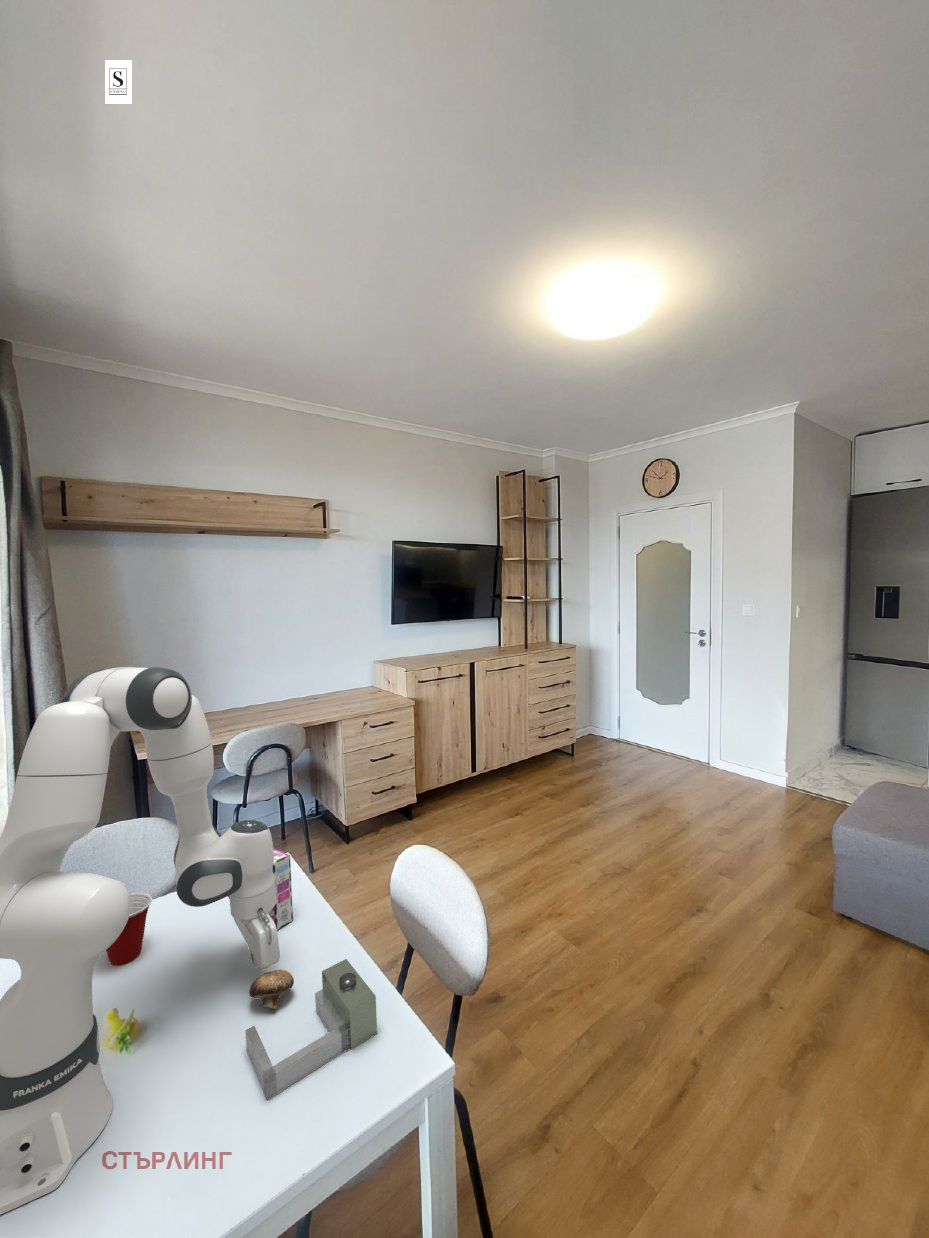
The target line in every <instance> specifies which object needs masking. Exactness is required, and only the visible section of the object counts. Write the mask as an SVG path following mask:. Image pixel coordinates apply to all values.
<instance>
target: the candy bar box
mask: <svg viewBox="0 0 929 1238" xmlns="http://www.w3.org/2000/svg"><path fill="white" fill-rule="evenodd" d="M273 852H274V864H273V874H274V876H275V886H276V904H275V906H274V907H273V908H272V909H271V910H270V913H269V915H270V917H271V918H272V920H273V921H274V923H275V925H276V928H277V931H279V930H281V929H282V928H284V927H286V926H287V925H289V924H290V923H292V922H293V921H294V913H293V891H292V869H291V868H292V867H291V865H292V863H291V855H290V854H288V853H285V852H284V851H281V850H278V849H276V848H274V847H273Z"/></svg>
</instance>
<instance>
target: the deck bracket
mask: <svg viewBox="0 0 929 1238" xmlns="http://www.w3.org/2000/svg"><path fill="white" fill-rule="evenodd" d="M321 980H322V983H321V984H322V988H321V989H320V990H318V991H317V992H315V993H314V996H315V997H314V998H315V1012H316V1013H317V1015H318V1017H319V1018H320V1020H321V1021H322V1023H323V1025H324V1026H325V1028H326V1029H327V1031H328V1033H326V1034H324V1035H323V1036H321V1037H319V1038H318V1039H316V1040H314V1041H313V1042H311V1043H309V1044H308V1045H306V1046H304V1047H303V1048H301V1049H299V1050H297V1051H296V1052H294V1053H292V1054H291V1055H290V1056H288V1057H285V1058H284V1059H283V1060H281V1061H279V1062H278V1063H276V1064H274V1065H273V1064H272V1061H271V1059H270V1057H269V1055H268V1053H267V1050H266V1048H265V1046H264V1043H263V1042H262V1039H261V1037H260V1035H259V1033H258V1030H257V1029H256V1025H252V1026H251V1027H249V1028H247V1029H245V1030H244V1031H245V1047H246V1052H247V1054H248V1058H249V1059H250V1061H251V1064H252V1067H253V1069H254V1071H255V1074H256V1077H257V1079H258V1082H259V1085H260V1086H261V1089H262V1092H263V1094H264V1095H265V1099H266V1101H269V1100H270V1099H271V1098H273V1097H275V1096H276V1095H278V1094H279V1093H281V1092H283V1091H284V1090H286V1089H288V1088H289V1087H291V1086H292V1085H294V1084H295V1083H297V1082H299V1081H300V1080H301V1079H303V1078H305V1077H306V1076H308V1075H309V1074H311V1073H313V1072H315V1071H317V1070H318V1069H320V1067H322V1066H324V1065H325V1064H327V1063H329V1062H330V1061H332V1060H334V1059H335V1058H337V1057H338V1056H340V1055H342V1054H343V1053H344V1052H346V1051H348V1050H351V1051H352V1050H354V1049H355V1048H357V1047H358V1046H360V1045H361V1044H363V1043H364V1042H366V1041H368V1040H369V1039H371V1038H372V1037H374V1036H376V1035H377V1034H378V1021H377V1019H378V1018H377V997H376V996H377V995H376V994H375V993H374V992H373V990H372V989H371V988H370V987H369V985H368V984H367V983H366V982H365V980H364V979H363V977H362V976H360V974H359V973H358V972H357V970H356V969H355V968H354V966H353V965H352V964H351V963H350V961H348V959H347V958H345V959H343V960H341V961H339V962H337V963H336V964H333V965H331V966H329V967H327V968H326V969H323V970H322V971H321Z"/></svg>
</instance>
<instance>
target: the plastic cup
mask: <svg viewBox="0 0 929 1238" xmlns="http://www.w3.org/2000/svg"><path fill="white" fill-rule="evenodd" d="M129 893H130V892H129ZM130 897H131V910H130V915H129V918H128V921H127V923H126V925H125V927H124V929H123V931H122V932H121V934H120V935H119V937H118V938H117V939H116V941H115V942H114V943H113V944H112V945H111V946H110V947H109V948H108V949H106V950H105V952H106V954H107V958H108V962H109V963H110V965H112V966H113V967H114V966H115V967H116V966H117V967H119V966H125V965H126V964H129V963H131V962H133V961H135V960H136V959H137V958H138V957H140V954H142V953H141V952H142V949H143V942H144V941H143V939H144V936H145V929H146V923H147V915H148V910H149V909H150V906H151V904H152V902H153V898H152V897H153V896H152V895H151V894H148V893H146V892H131V893H130Z"/></svg>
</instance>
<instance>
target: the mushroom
mask: <svg viewBox="0 0 929 1238" xmlns="http://www.w3.org/2000/svg"><path fill="white" fill-rule="evenodd" d="M294 983H295V980H294V976H293V974H292V973H290V971H288V970H284V969H276V970H272V971H271V970H270V971H267V972H263V973H262V974H260V975H258V976H257V978H255V980H253V982H252V983H251V984H250V987H249V992H248V994H249V997H250V998H251V999H255V1000H260V1001H261V1002H262V1006H264V1007H265V1008H270V1009H276V1010H278V1003H279V999H280V998H281V997H282V996H283V994H285V993H286V992H288V991H289V990H291V989H292V988H293V986H294Z"/></svg>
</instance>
